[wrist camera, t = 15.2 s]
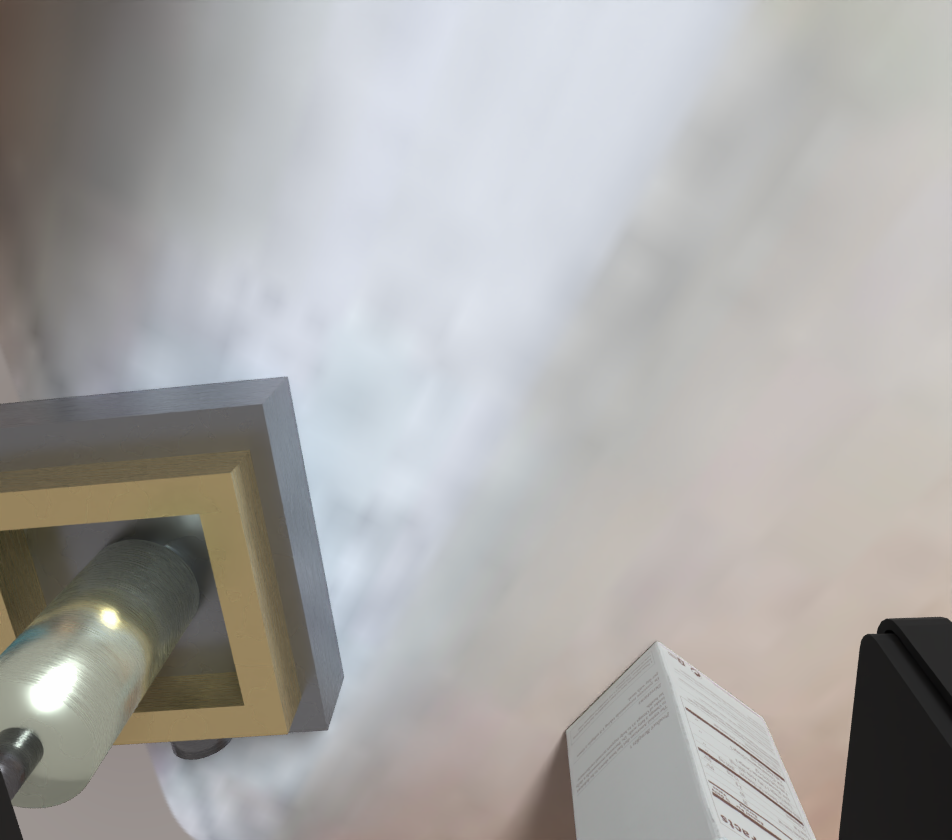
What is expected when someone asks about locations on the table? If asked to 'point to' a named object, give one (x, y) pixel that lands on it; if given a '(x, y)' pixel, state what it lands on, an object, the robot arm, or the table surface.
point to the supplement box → (678, 762)
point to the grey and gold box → (182, 546)
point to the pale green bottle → (88, 667)
